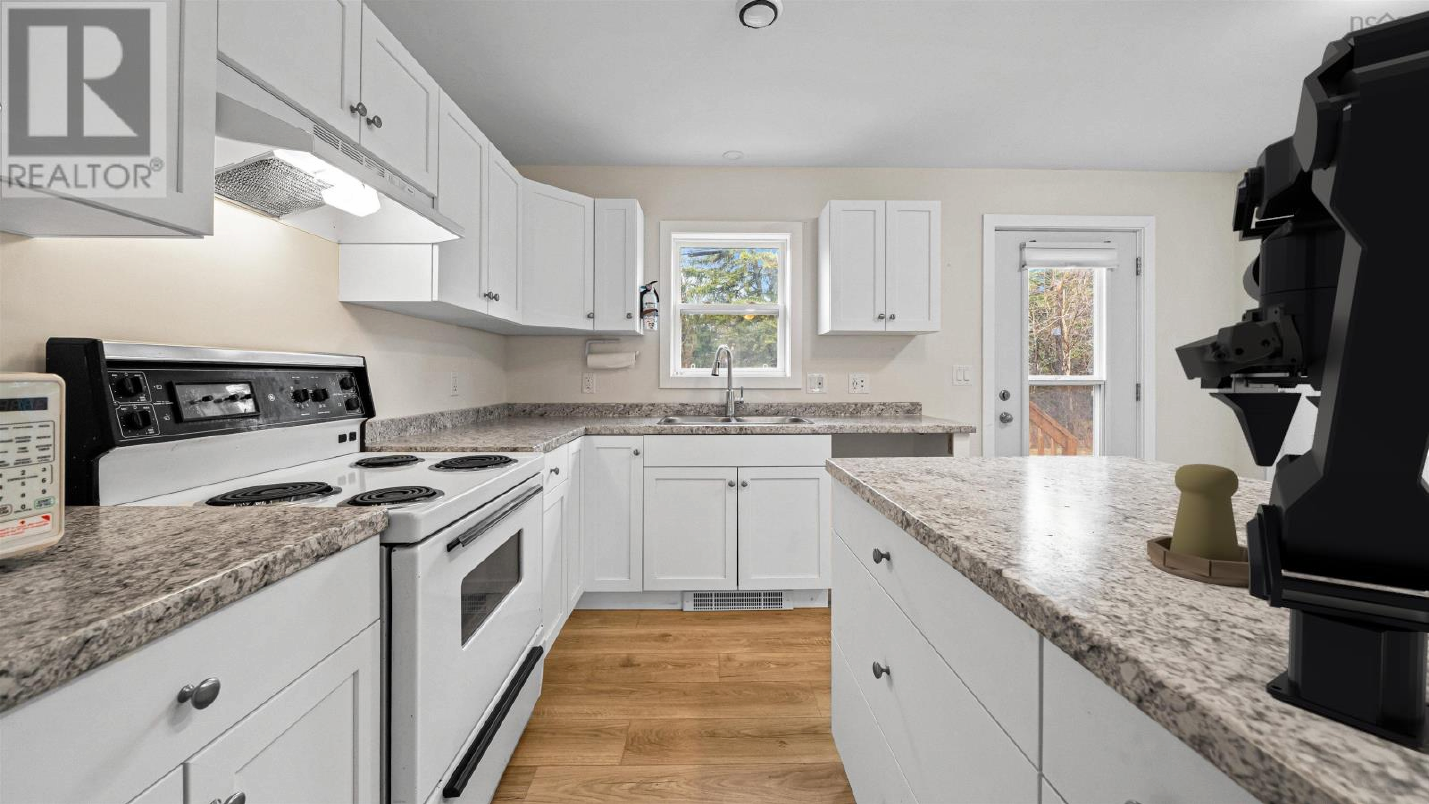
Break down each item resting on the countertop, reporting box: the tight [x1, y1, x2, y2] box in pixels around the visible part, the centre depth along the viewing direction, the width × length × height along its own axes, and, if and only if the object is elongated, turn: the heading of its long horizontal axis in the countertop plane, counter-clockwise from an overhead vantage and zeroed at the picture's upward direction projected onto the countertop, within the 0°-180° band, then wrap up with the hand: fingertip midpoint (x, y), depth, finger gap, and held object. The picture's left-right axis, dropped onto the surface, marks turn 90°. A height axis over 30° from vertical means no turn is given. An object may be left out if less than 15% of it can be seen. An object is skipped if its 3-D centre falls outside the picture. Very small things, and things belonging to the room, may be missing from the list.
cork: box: [1170, 463, 1241, 562], centre depth 59 cm, size 6×6×11 cm
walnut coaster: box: [1146, 535, 1249, 588], centre depth 59 cm, size 10×10×2 cm
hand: (1301, 474), depth 46 cm, fingers open, 9 cm apart
